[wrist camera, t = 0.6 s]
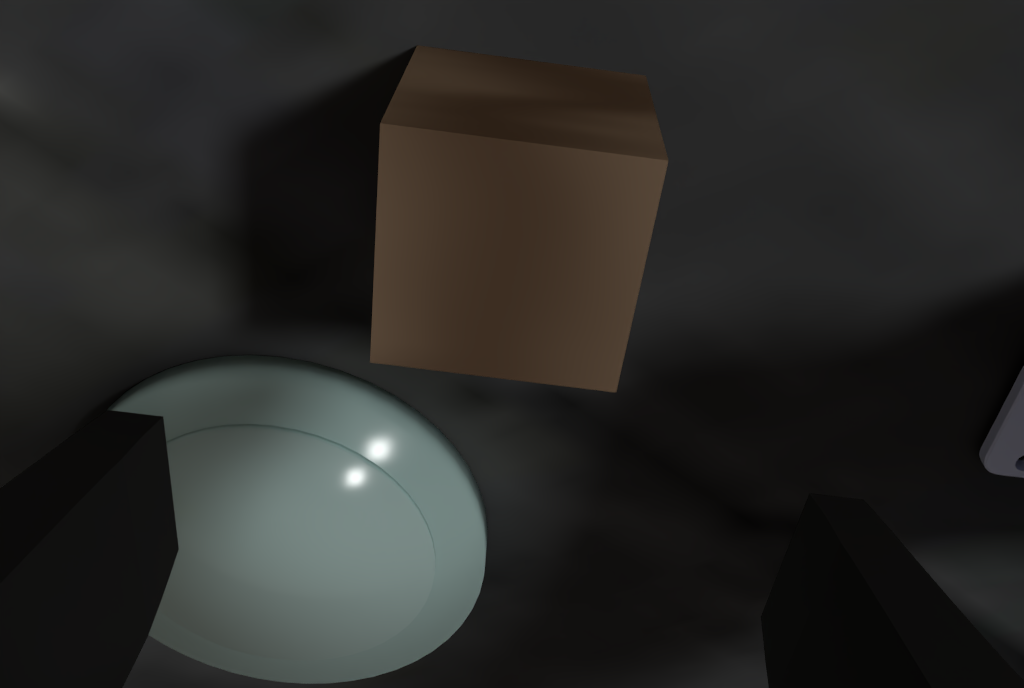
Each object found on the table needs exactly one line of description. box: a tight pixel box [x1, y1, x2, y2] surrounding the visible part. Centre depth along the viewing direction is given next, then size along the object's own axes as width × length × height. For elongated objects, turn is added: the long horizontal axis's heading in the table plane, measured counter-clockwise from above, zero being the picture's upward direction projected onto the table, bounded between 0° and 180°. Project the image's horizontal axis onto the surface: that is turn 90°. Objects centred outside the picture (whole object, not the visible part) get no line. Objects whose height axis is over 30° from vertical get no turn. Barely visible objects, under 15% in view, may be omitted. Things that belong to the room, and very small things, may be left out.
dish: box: [107, 355, 488, 684], centre depth 24 cm, size 11×11×1 cm
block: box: [370, 45, 668, 392], centre depth 17 cm, size 4×4×4 cm
